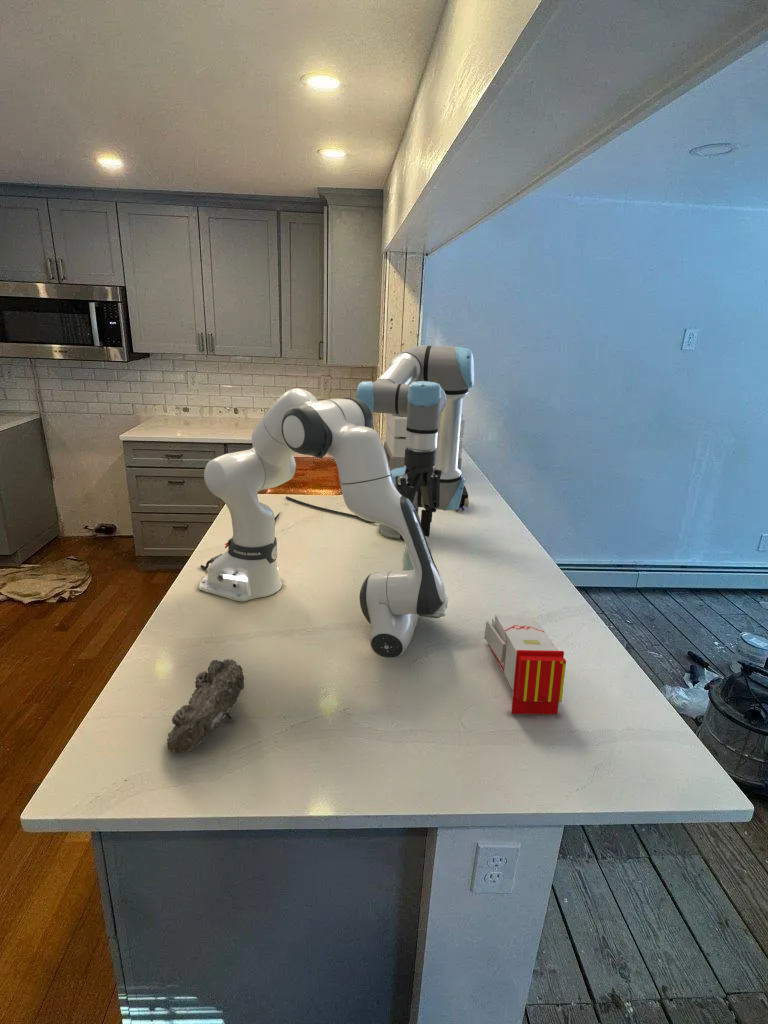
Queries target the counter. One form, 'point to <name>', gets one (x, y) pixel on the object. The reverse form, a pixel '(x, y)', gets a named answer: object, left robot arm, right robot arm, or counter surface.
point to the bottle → (407, 561)
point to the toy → (527, 663)
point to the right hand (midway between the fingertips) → (414, 538)
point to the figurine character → (464, 499)
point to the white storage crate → (404, 440)
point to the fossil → (206, 705)
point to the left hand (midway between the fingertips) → (412, 585)
